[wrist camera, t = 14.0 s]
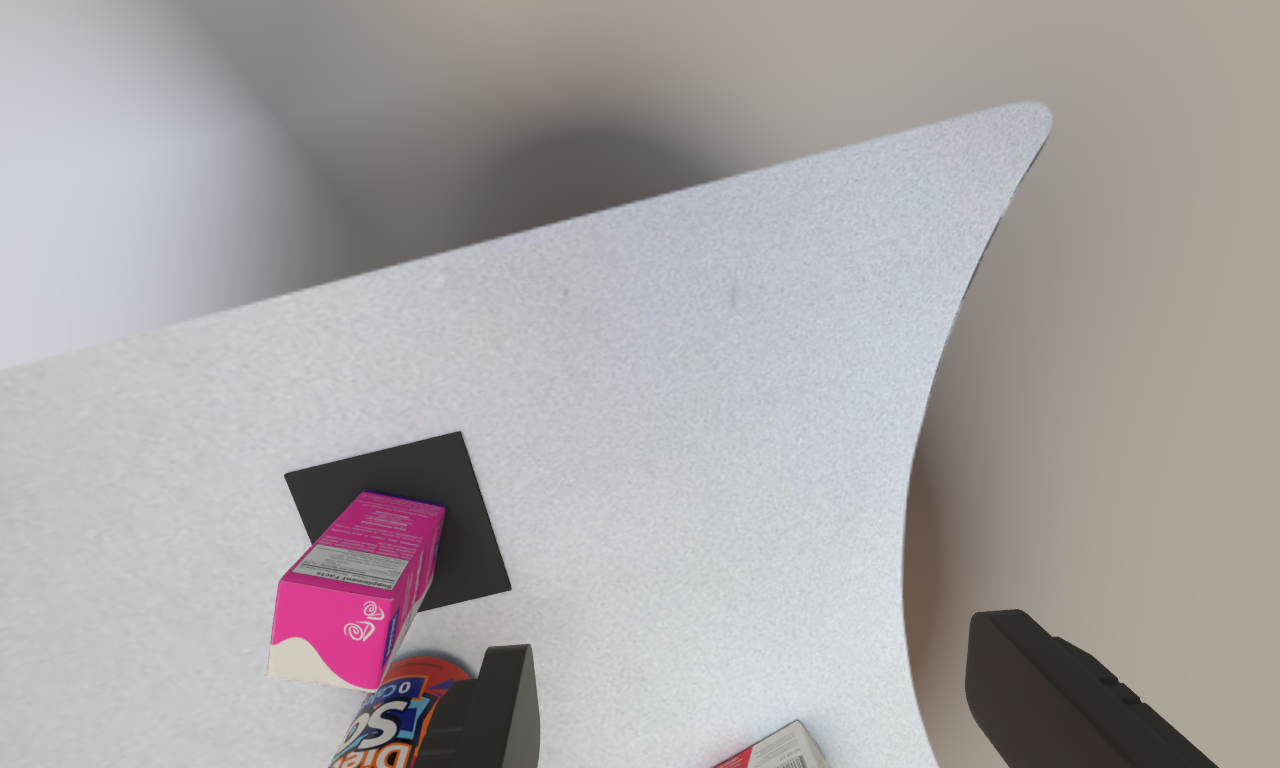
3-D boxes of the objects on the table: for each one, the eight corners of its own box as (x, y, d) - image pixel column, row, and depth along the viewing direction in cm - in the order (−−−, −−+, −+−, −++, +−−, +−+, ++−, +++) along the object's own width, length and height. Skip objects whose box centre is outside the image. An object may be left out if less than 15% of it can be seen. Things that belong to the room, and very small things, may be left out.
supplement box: (437, 579, 43) (375, 699, 32) (351, 562, 42) (257, 679, 31) (452, 503, 41) (393, 601, 30) (363, 485, 41) (269, 578, 30)
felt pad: (285, 473, 41) (283, 475, 40) (460, 431, 41) (459, 432, 40) (348, 627, 44) (346, 629, 43) (511, 587, 43) (510, 590, 43)
